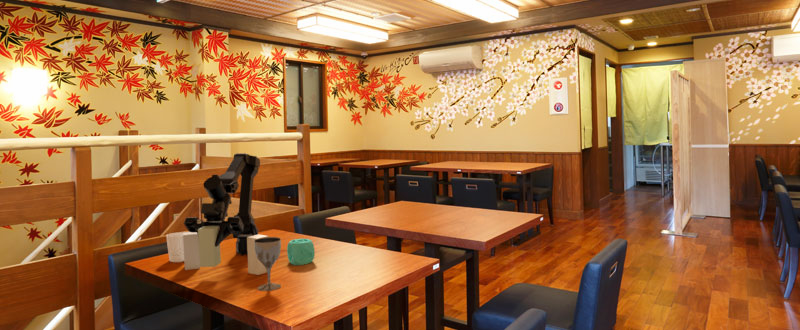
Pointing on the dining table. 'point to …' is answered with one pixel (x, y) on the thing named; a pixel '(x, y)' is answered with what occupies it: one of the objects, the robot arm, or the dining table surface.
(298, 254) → the decorative dice
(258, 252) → the wine glass
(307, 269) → the dining table surface
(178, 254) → the white cup
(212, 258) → the sage block
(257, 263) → the cream block
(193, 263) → the pale pink tall block
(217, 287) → the dining table surface
